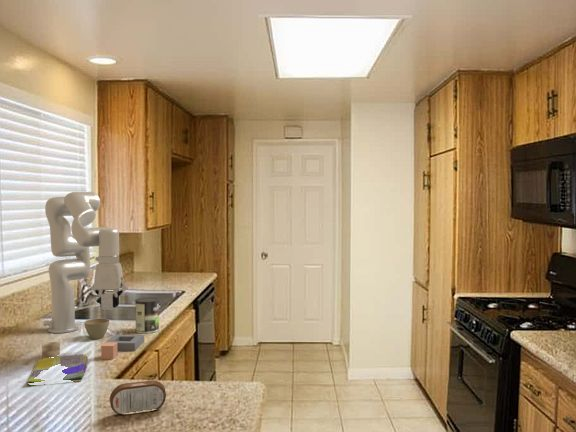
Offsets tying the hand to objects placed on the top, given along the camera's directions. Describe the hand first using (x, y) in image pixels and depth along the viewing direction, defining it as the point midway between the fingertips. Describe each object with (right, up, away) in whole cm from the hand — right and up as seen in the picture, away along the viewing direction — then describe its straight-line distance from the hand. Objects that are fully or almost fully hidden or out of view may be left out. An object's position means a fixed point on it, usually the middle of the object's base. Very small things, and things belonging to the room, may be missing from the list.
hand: (109, 306), depth 197 cm
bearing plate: (+4, -17, +5) cm, 18 cm away
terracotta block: (+3, -18, -9) cm, 20 cm away
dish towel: (-8, -19, -25) cm, 32 cm away
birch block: (-19, -18, -8) cm, 27 cm away
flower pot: (-12, -17, +18) cm, 27 cm away
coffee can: (+7, -16, +29) cm, 34 cm away
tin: (+28, -20, -57) cm, 67 cm away
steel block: (0, -1, 0) cm, 1 cm away
